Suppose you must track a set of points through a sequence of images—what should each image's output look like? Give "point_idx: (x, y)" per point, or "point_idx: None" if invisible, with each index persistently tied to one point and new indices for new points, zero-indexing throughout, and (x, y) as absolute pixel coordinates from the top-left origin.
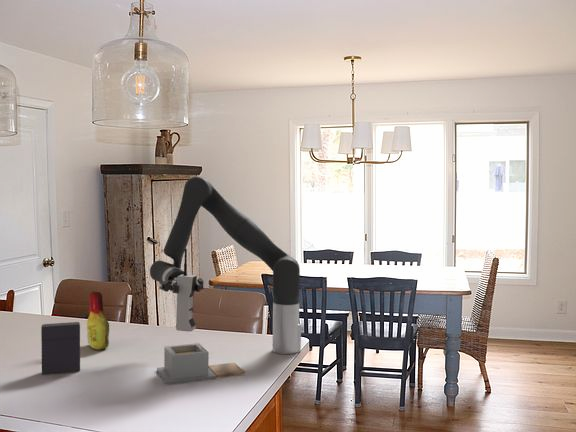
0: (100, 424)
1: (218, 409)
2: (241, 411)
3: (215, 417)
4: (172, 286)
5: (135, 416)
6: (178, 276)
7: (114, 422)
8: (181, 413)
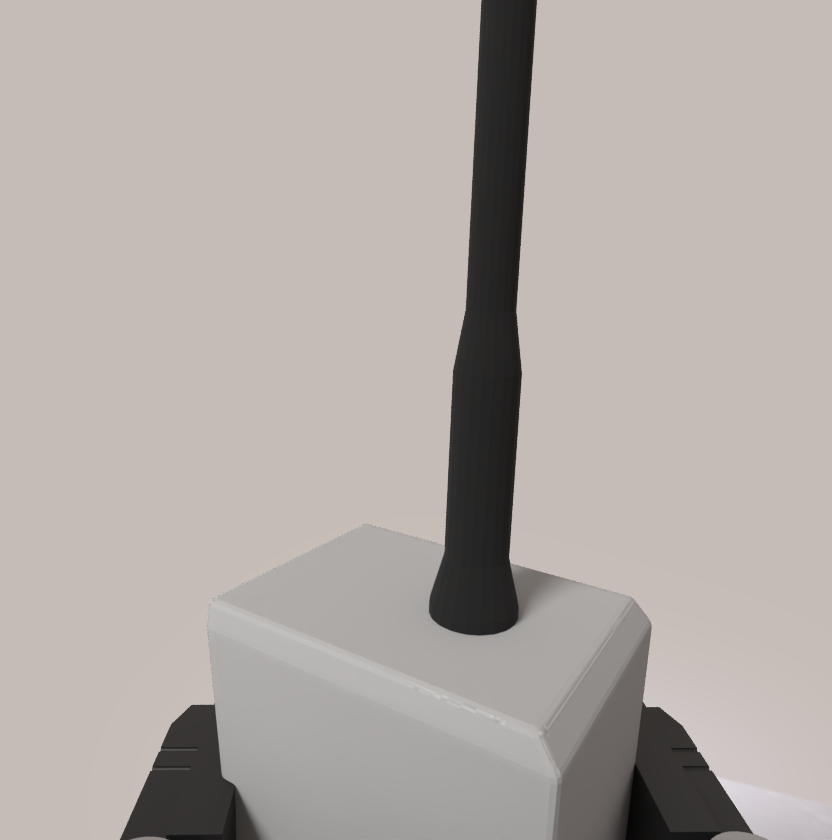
0: (792, 813)
1: None
2: None
3: None
4: (717, 783)
5: None
6: (622, 598)
7: (745, 813)
8: None
